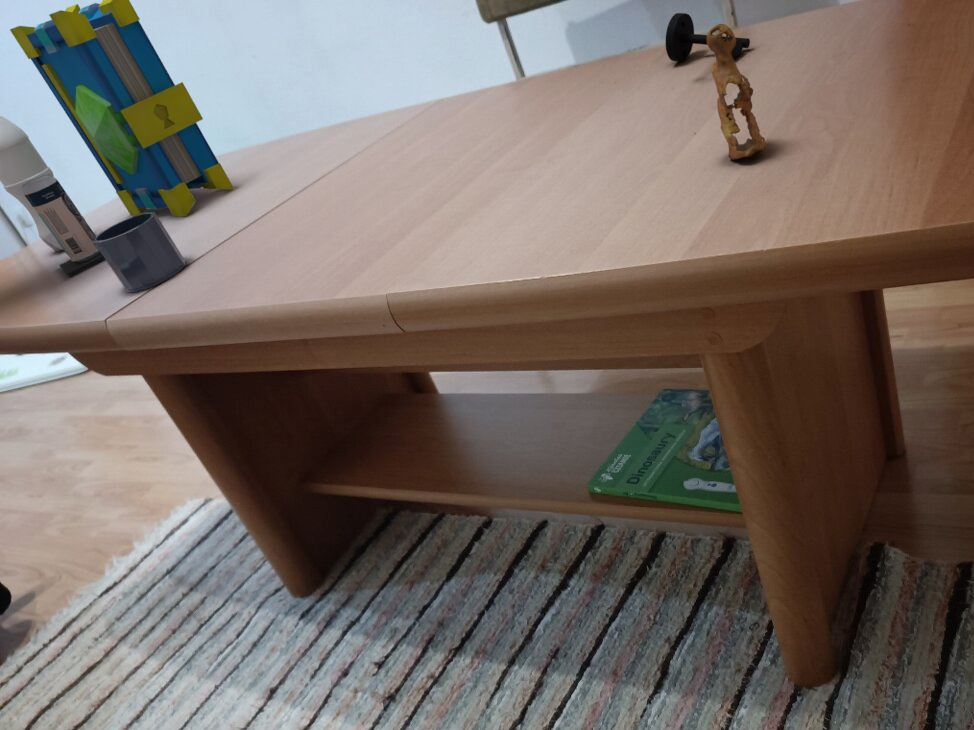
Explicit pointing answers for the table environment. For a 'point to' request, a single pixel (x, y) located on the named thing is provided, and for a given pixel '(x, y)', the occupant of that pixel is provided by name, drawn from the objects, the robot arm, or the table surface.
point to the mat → (80, 265)
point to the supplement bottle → (61, 217)
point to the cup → (140, 252)
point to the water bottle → (22, 171)
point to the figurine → (729, 73)
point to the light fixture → (690, 38)
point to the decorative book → (124, 105)
